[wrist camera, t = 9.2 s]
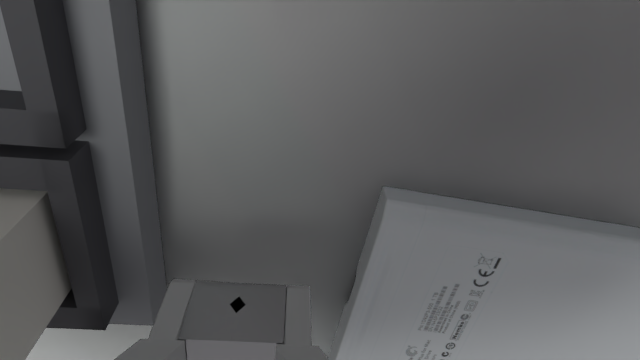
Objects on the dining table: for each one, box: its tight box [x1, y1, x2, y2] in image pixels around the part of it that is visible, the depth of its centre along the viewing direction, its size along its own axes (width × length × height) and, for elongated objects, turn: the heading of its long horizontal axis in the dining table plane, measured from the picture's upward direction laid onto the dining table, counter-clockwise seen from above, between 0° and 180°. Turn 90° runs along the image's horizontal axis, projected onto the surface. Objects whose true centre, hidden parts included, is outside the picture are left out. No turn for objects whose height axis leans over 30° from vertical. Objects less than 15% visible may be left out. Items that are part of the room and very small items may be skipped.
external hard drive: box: [328, 186, 640, 360], centre depth 15 cm, size 2×8×12 cm
